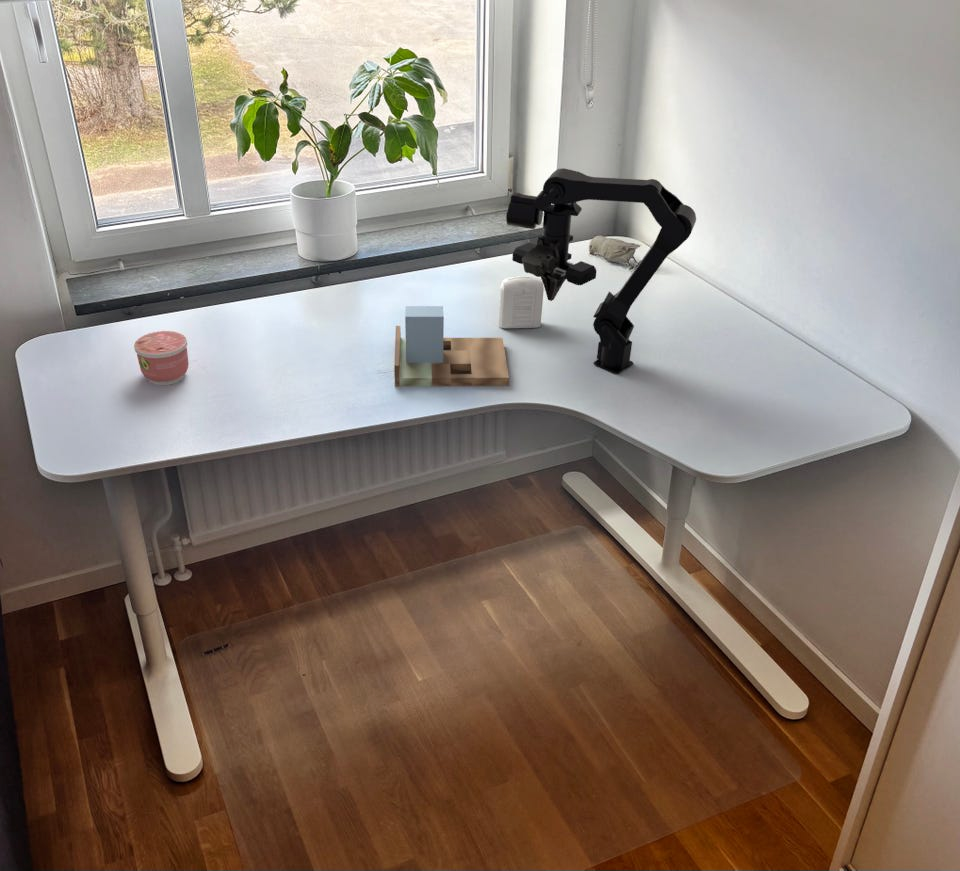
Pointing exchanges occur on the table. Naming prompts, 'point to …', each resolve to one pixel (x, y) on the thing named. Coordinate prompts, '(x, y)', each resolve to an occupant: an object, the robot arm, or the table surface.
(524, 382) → the table surface
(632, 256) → the decorative bird
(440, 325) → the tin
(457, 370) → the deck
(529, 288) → the photo printer
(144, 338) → the container
